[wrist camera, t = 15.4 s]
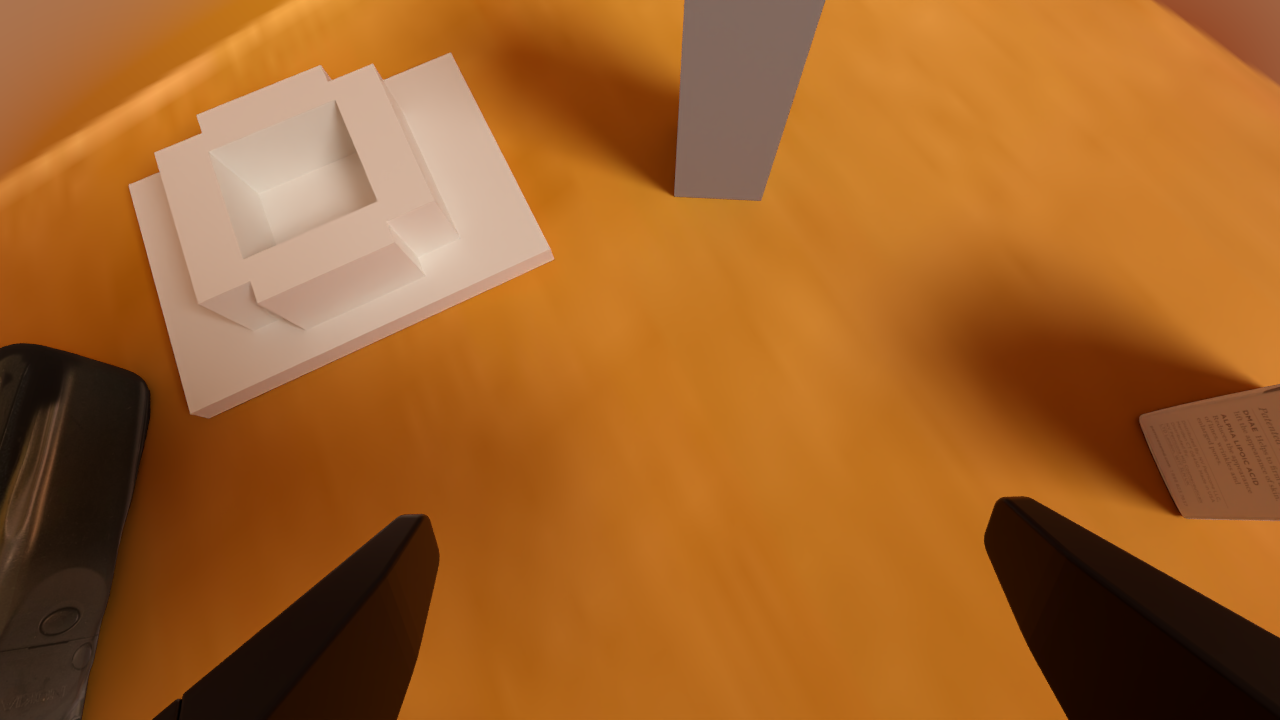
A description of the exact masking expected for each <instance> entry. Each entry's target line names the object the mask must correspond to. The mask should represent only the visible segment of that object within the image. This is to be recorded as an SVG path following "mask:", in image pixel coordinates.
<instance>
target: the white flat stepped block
mask: <svg viewBox="0 0 1280 720" xmlns="http://www.w3.org/2000/svg"><path fill="white" fill-rule="evenodd" d="M196 116H197V119H198V122H199V125H200V128H201V131H202V133H201V134H199V135H196V136H194V137H192V138H189V139H187V140H184V141H182V142H179V143H177V144H174V145H172V146H169V147H167V148H164V149H162V150H160V151H157V152H155V153H154V154H155V157H156V161H157V164H158V168H159V171H160V172H159V173H156V174H154V175H151V176H149V177H146V178H144V179H142V180H139V181H137V182H134V183H132V184H129V189H130V193H131V196H132V200H133V204H134V207H135V211H136V215H137V219H138V222H139V226H140V230H141V233H142V237H143V241H144V245H145V248H146V252H147V256H148V259H149V263H150V267H151V270H152V274H153V278H154V282H155V285H156V289H157V293H158V296H159V300H160V304H161V308H162V311H163V315H164V319H165V322H166V326H167V330H168V334H169V337H170V341H171V345H172V348H173V352H174V356H175V360H176V363H177V367H178V371H179V374H180V378H181V382H182V386H183V389H184V393H185V397H186V400H187V404H188V408H189V412H190V414H192V415H197V416H201V417H205V418H211V417H213V416H215V415H218V414H220V413H222V412H224V411H226V410H228V409H231V408H233V407H235V406H237V405H239V404H242V403H244V402H246V401H248V400H250V399H252V398H255V397H257V396H259V395H261V394H263V393H265V392H268V391H270V390H272V389H274V388H276V387H278V386H281V385H283V384H285V383H287V382H289V381H291V380H294V379H296V378H298V377H300V376H302V375H304V374H307V373H309V372H311V371H313V370H315V369H317V368H320V367H322V366H324V365H326V364H328V363H330V362H333V361H335V360H337V359H339V358H341V357H344V356H346V355H348V354H350V353H352V352H354V351H357V350H359V349H361V348H363V347H365V346H367V345H370V344H372V343H374V342H376V341H378V340H380V339H383V338H385V337H387V336H389V335H391V334H393V333H396V332H398V331H400V330H402V329H404V328H406V327H409V326H411V325H413V324H415V323H417V322H419V321H422V320H424V319H426V318H428V317H430V316H432V315H435V314H437V313H439V312H441V311H443V310H446V309H448V308H450V307H452V306H454V305H456V304H459V303H461V302H463V301H465V300H467V299H469V298H472V297H474V296H476V295H478V294H480V293H482V292H485V291H487V290H489V289H491V288H493V287H495V286H498V285H500V284H502V283H504V282H506V281H508V280H511V279H513V278H515V277H517V276H519V275H521V274H524V273H526V272H528V271H530V270H532V269H534V268H537V267H539V266H541V265H543V264H545V263H547V262H550V261H552V260H554V257H553V255H552V252H551V249H550V247H549V245H548V243H547V241H546V239H545V238H544V236H543V234H542V232H541V230H540V228H539V226H538V224H537V222H536V220H535V218H534V216H533V214H532V212H531V210H530V208H529V206H528V204H527V202H526V200H525V198H524V196H523V194H522V192H521V190H520V188H519V186H518V184H517V182H516V180H515V178H514V176H513V174H512V172H511V170H510V168H509V166H508V164H507V162H506V160H505V159H504V157H503V155H502V153H501V151H500V149H499V147H498V145H497V143H496V141H495V139H494V137H493V135H492V133H491V131H490V129H489V127H488V125H487V123H486V121H485V119H484V117H483V115H482V113H481V111H480V109H479V107H478V105H477V103H476V101H475V99H474V97H473V95H472V93H471V91H470V89H469V87H468V85H467V83H466V82H465V80H464V78H463V76H462V74H461V72H460V70H459V68H458V66H457V64H456V62H455V60H454V58H453V56H452V54H451V53H448V54H446V55H443V56H441V57H438V58H436V59H434V60H431V61H429V62H426V63H424V64H421V65H419V66H417V67H414V68H412V69H409V70H407V71H404V72H402V73H400V74H397V75H395V76H392V77H390V78H387V79H385V80H383V79H382V78H381V76H380V74H379V73H378V71H377V70H376V68H375V66H374V65H373V64H371V65H368V66H366V67H364V68H361V69H359V70H356V71H354V72H351V73H349V74H346V75H344V76H341V77H339V78H336V79H334V80H331V78H330V77H329V76H328V74H327V73H326V71H325V70H324V69H323V67H322V66H321V65H319V66H317V67H314V68H312V69H309V70H307V71H304V72H302V73H299V74H297V75H294V76H292V77H289V78H287V79H285V80H282V81H280V82H277V83H275V84H272V85H270V86H267V87H265V88H262V89H260V90H257V91H255V92H252V93H250V94H247V95H245V96H242V97H240V98H237V99H235V100H232V101H230V102H227V103H225V104H223V105H220V106H218V107H215V108H213V109H210V110H208V111H205V112H203V113H200V114H198V115H196Z"/></svg>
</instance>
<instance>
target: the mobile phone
mask: <svg viewBox="0 0 1280 720" xmlns="http://www.w3.org/2000/svg"><path fill="white" fill-rule="evenodd" d="M149 419H150V391H149V390H148V387H147V385H146V383H145V381H144V380H143V379H142V378H141V377H140V376H138V375H136V374H135V373H133V372H130V371H128V370H125V369H122V368H119V367H116V366H112V365H109V364H106V363H103V362H100V361H96V360H93V359H90V358H87V357H83V356H80V355H77V354H73V353H70V352H66V351H62V350H58V349H54V348H50V347H46V346H42V345H36V344H25V343H20V344H12V345H8V346H5V347H2V348H0V720H81V719H82V713H83V708H84V702H85V696H86V690H87V684H88V678H89V673H90V669H91V667H92V664H93V661H94V657H95V652H96V647H97V642H98V637H99V631H100V626H101V622H102V618H103V615H104V612H105V609H106V606H107V602H108V599H109V595H110V590H111V585H112V580H113V575H114V570H115V564H116V559H117V553H118V548H119V543H120V539H121V535H122V531H123V527H124V524H125V520H126V517H127V513H128V510H129V506H130V503H131V499H132V495H133V491H134V487H135V483H136V478H137V473H138V469H139V464H140V460H141V455H142V451H143V447H144V442H145V438H146V433H147V429H148V424H149Z"/></svg>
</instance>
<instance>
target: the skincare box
mask: <svg viewBox="0 0 1280 720" xmlns="http://www.w3.org/2000/svg"><path fill="white" fill-rule="evenodd" d="M1139 423H1140V426H1141V428H1142V431H1143V433H1144V435H1145V438H1146V441H1147V443H1148V446H1149V448H1150V451H1151V453H1152V455H1153V457H1154V460H1155V462H1156V464H1157V466H1158V468H1159V471H1160V473H1161V475H1162V477H1163V480H1164V482H1165V484H1166V486H1167V488H1168V490H1169V492H1170V494H1171V496H1172V498H1173V500H1174V502H1175V504H1176V506H1177V508H1178V509H1179V511H1180V513H1181V514H1182V516H1183V517H1184V518H1187V519H1213V520H1260V521H1280V384H1277V385H1272V386H1267V387H1262V388H1257V389H1253V390H1248V391H1243V392H1238V393H1233V394H1228V395H1224V396H1219V397H1214V398H1210V399H1205V400H1200V401H1196V402H1191V403H1187V404H1182V405H1178V406H1174V407H1170V408H1165V409H1161V410H1157V411H1153V412H1150V413H1146V414H1143V415H1141V416H1140V418H1139Z"/></svg>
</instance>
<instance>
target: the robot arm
mask: <svg viewBox="0 0 1280 720" xmlns="http://www.w3.org/2000/svg"><path fill="white" fill-rule="evenodd" d="M984 544H985V548H986V551H987V554H988V556H989V559H990V561H991V563H992V565H993V568H994V570H995V572H996V575H997V577H998V579H999V582H1000V584H1001V586H1002V589H1003V591H1004V593H1005V596H1006V598H1007V600H1008V602H1009V605H1010V607H1011V609H1012V612H1013V614H1014V616H1015V619H1016V621H1017V623H1018V626H1019V628H1020V630H1021V632H1022V634H1023V637H1024V639H1025V641H1026V643H1027V645H1028V647H1029V649H1030V651H1031V653H1032V654H1033V656H1034V658H1035V660H1036V662H1037V664H1038V666H1039V667H1040V669H1041V671H1042V673H1043V675H1044V676H1045V678H1046V680H1047V682H1048V684H1049V685H1050V687H1051V689H1052V691H1053V693H1054V694H1055V696H1056V698H1057V700H1058V702H1059V704H1060V705H1061V707H1062V709H1063V711H1064V713H1065V714H1066V716H1067V718H1068V720H1280V638H1279V637H1277V636H1275V635H1274V634H1272V633H1270V632H1268V631H1266V630H1265V629H1263V628H1261V627H1259V626H1258V625H1256V624H1254V623H1252V622H1250V621H1249V620H1247V619H1245V618H1243V617H1242V616H1240V615H1238V614H1236V613H1234V612H1233V611H1231V610H1229V609H1227V608H1226V607H1224V606H1222V605H1220V604H1218V603H1217V602H1215V601H1213V600H1211V599H1210V598H1208V597H1206V596H1204V595H1202V594H1201V593H1199V592H1197V591H1195V590H1194V589H1192V588H1190V587H1188V586H1186V585H1185V584H1183V583H1181V582H1179V581H1178V580H1176V579H1174V578H1172V577H1170V576H1169V575H1167V574H1165V573H1163V572H1162V571H1160V570H1158V569H1156V568H1154V567H1153V566H1151V565H1149V564H1147V563H1146V562H1144V561H1142V560H1140V559H1138V558H1137V557H1135V556H1133V555H1131V554H1130V553H1128V552H1126V551H1124V550H1122V549H1121V548H1119V547H1117V546H1115V545H1114V544H1112V543H1110V542H1108V541H1106V540H1105V539H1103V538H1101V537H1099V536H1098V535H1096V534H1094V533H1092V532H1090V531H1089V530H1087V529H1085V528H1083V527H1082V526H1080V525H1078V524H1076V523H1074V522H1073V521H1071V520H1069V519H1067V518H1066V517H1064V516H1062V515H1060V514H1058V513H1057V512H1055V511H1053V510H1051V509H1050V508H1048V507H1046V506H1044V505H1042V504H1041V503H1039V502H1037V501H1035V500H1034V499H1032V498H1029V497H1024V496H1020V497H1002V498H1000V499H998V500H997V501H996V503H995V505H994V508H993V511H992V514H991V517H990V520H989V523H988V526H987V529H986V532H985V535H984ZM438 566H439V549H438V545H437V542H436V539H435V535H434V532H433V528H432V525H431V522H430V519H429V518H428V516H427V515H424V514H406V515H401V516H399V517H397V518H396V519H395V520H393V521H392V522H391V523H390V524H389V525H387V526H386V527H385V528H384V529H383V530H381V531H380V532H379V533H378V534H377V535H375V536H374V537H373V538H372V539H370V540H369V541H368V542H367V543H366V544H364V545H363V546H362V547H361V548H360V549H358V550H357V551H356V552H355V553H353V554H352V555H351V556H350V557H349V558H347V559H346V560H345V561H344V562H343V563H341V564H340V565H339V566H338V567H337V568H335V569H334V570H333V571H332V572H330V573H329V574H328V575H327V576H326V577H324V578H323V579H322V580H321V581H320V582H318V583H317V584H316V585H315V586H314V587H312V588H311V589H310V590H309V591H307V592H306V593H305V594H304V595H303V596H301V597H300V598H299V599H298V600H297V601H295V602H294V603H293V604H292V605H290V606H289V607H288V608H287V609H286V610H284V611H283V612H282V613H281V614H280V615H278V616H277V617H276V618H275V619H274V620H272V621H271V622H270V623H269V624H267V625H266V626H265V627H264V628H263V629H261V630H260V631H259V632H258V633H257V634H255V635H254V636H253V637H252V638H251V639H249V640H248V641H247V642H246V643H244V644H243V645H242V646H241V647H240V648H238V649H237V650H236V651H235V652H234V653H232V654H231V655H230V656H229V657H227V658H226V659H225V660H224V661H223V662H221V663H220V664H219V665H218V666H217V667H215V668H214V669H213V670H212V671H211V672H209V673H208V674H207V675H206V676H204V677H203V678H202V679H201V680H200V681H198V682H197V683H196V684H195V685H194V686H192V687H191V688H190V689H189V690H188V691H186V692H185V693H184V694H183V697H182V699H177V700H175V701H174V702H173V703H171V704H170V705H169V706H168V707H167V708H165V709H164V710H163V711H162V712H161V713H159V714H158V715H157V716H156V717H155V718H153V719H152V720H397V718H398V715H399V712H400V709H401V706H402V703H403V700H404V697H405V694H406V691H407V688H408V686H409V683H410V680H411V677H412V674H413V671H414V667H415V664H416V661H417V657H418V653H419V650H420V646H421V641H422V637H423V633H424V628H425V624H426V619H427V615H428V611H429V606H430V602H431V597H432V593H433V589H434V584H435V580H436V575H437V571H438Z"/></svg>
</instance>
